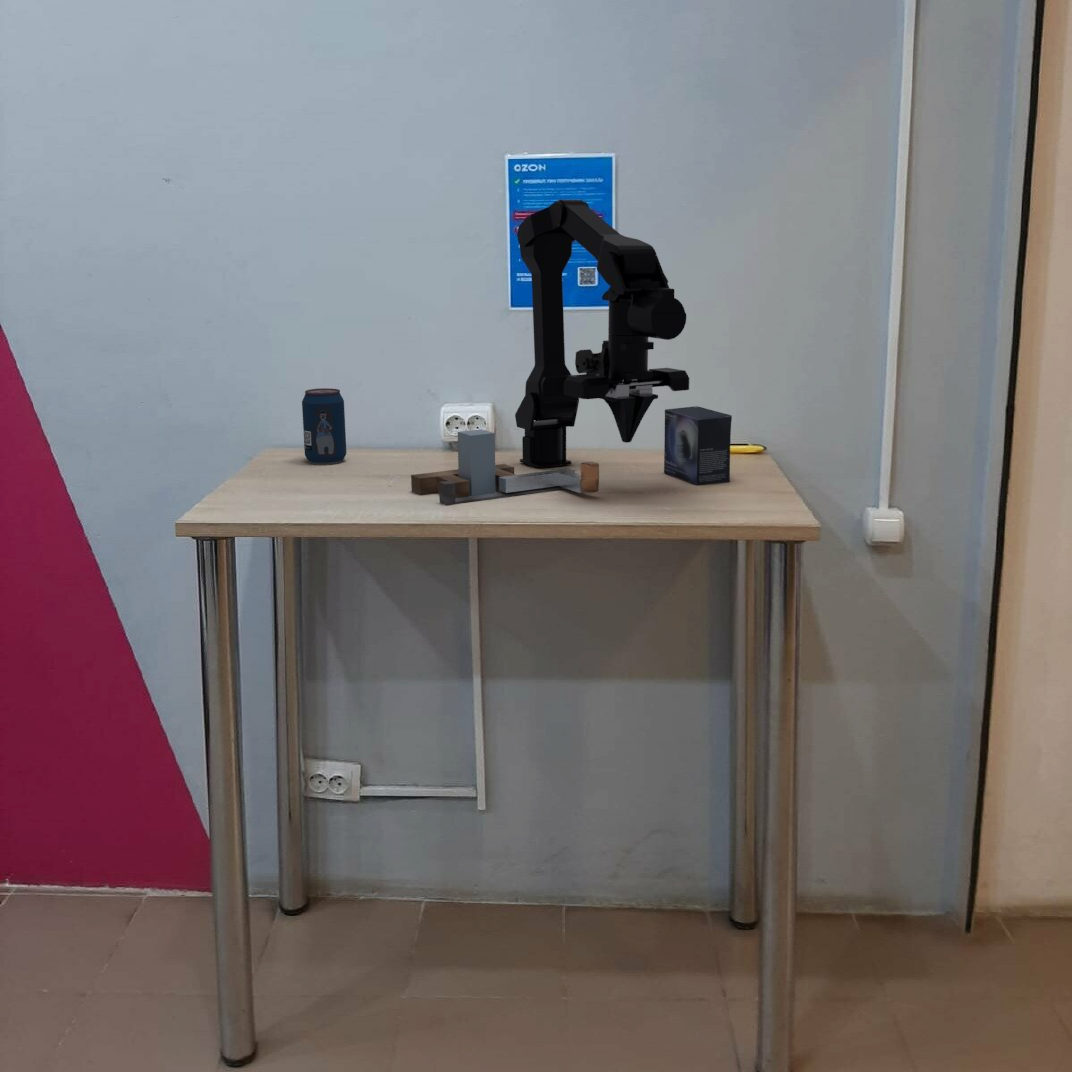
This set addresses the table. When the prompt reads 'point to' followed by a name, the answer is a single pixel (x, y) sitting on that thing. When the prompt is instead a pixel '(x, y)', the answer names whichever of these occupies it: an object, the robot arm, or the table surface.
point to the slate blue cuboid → (477, 460)
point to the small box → (697, 445)
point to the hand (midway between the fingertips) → (626, 442)
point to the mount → (463, 486)
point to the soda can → (324, 426)
